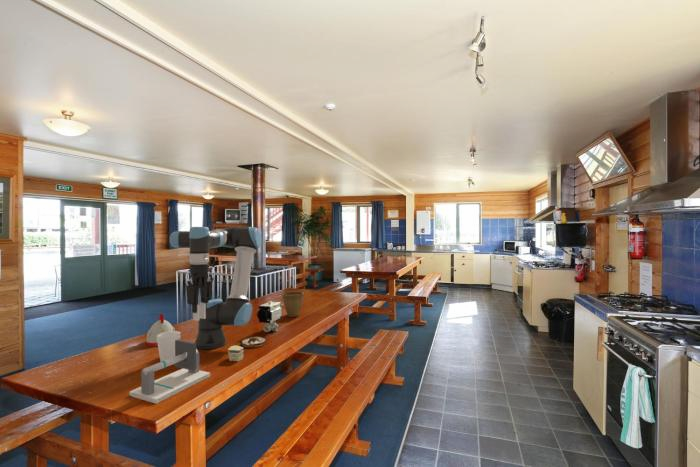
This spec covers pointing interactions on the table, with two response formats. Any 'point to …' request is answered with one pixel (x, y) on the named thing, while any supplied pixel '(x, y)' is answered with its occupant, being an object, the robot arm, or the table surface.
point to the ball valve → (270, 315)
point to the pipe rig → (167, 380)
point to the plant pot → (293, 302)
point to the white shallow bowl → (253, 342)
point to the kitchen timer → (158, 330)
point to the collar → (190, 349)
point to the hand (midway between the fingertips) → (199, 319)
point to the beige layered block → (235, 353)
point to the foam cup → (167, 344)
